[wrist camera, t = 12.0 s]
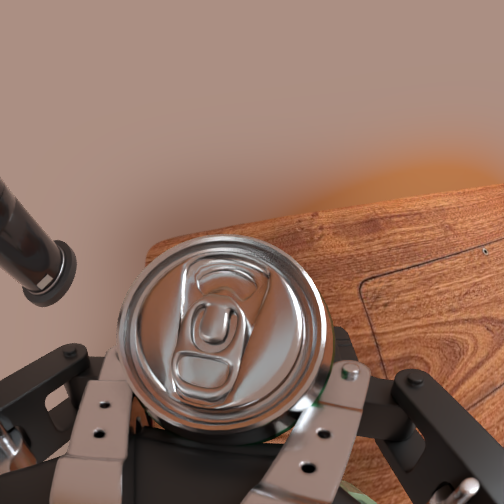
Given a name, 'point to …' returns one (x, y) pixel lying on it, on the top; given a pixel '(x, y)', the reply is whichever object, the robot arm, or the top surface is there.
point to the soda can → (225, 340)
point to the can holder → (356, 493)
